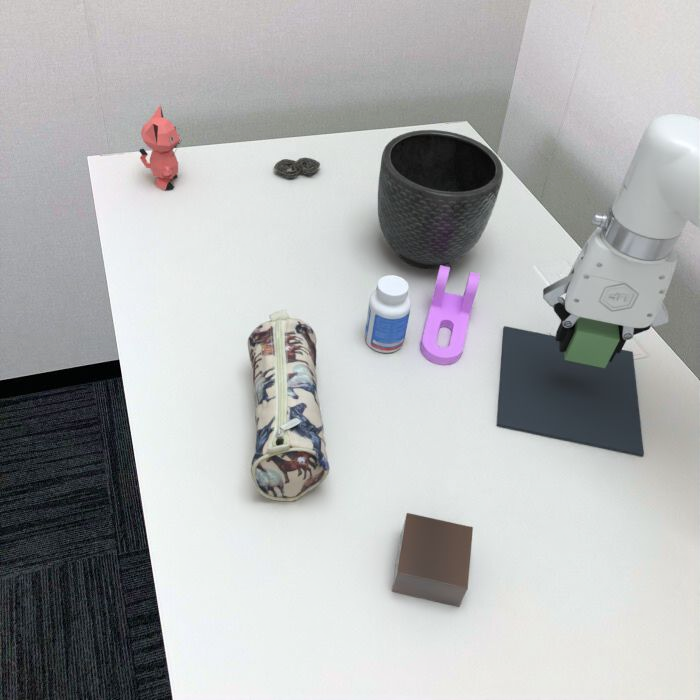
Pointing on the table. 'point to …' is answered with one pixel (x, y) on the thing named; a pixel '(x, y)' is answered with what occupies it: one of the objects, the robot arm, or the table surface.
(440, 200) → the planter
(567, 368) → the mat
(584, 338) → the green cube
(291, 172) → the corroded twin loop
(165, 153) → the cat figurine
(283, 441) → the pencil case
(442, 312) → the bracket
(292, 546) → the table surface
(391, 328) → the pill bottle
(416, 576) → the walnut base block
